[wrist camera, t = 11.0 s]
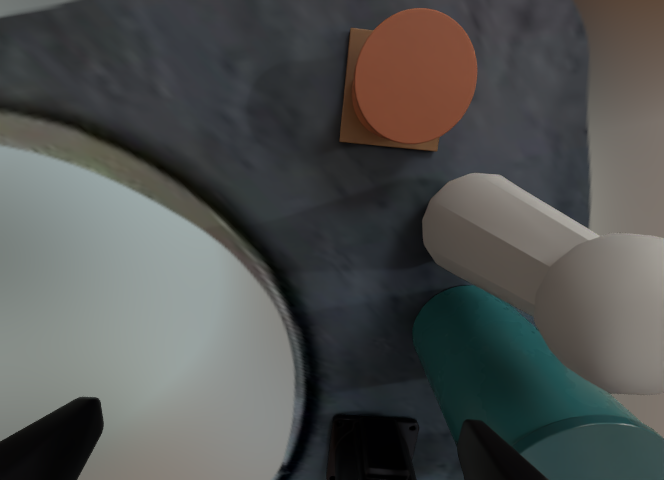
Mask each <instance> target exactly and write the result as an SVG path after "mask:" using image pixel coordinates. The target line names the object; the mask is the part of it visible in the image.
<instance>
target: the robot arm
mask: <svg viewBox="0 0 664 480" xmlns="http://www.w3.org/2000/svg"><path fill="white" fill-rule="evenodd" d="M103 426H104V422H103V416H102V409H101V402H100V400H99V399H98V398H96V397H79V398H77V399H75V400H73V401H71V402H70V403H68V404H66V405H64V406H62V407H61V408H59V409H57V410H55V411H54V412H52V413H50V414H48V415H46V416H45V417H43V418H41V419H39V420H38V421H36V422H34V423H32V424H30V425H29V426H27V427H25V428H23V429H22V430H20V431H18V432H16V433H15V434H13V435H11V436H9V437H8V438H6V439H4V440H2V441H0V480H77V479H78V477H79V475H80V473H81V471H82V469H83V467H84V466H85V464H86V462H87V460H88V458H89V456H90V455H91V453H92V451H93V449H94V447H95V445H96V443H97V441H98V440H99V437H100V436H101V434H102V430H103ZM418 431H419V425H418V422H417V420H415V419H409V418H392V417H374V416H357V415H336V416H335V417H334V418H333V422H332V431H331V439H330V447H329V455H328V463H327V472H326V479H327V480H417V479H416V475H415V472H414V468H413V464H412V458H413V453H414V449H415V445H416V440H417V436H418ZM457 451H458V456H459V460H460V464H461V468H462V471H463V475H464V479H465V480H549V479H547V478H546V477H545V476H544V475H543V474H542V473H541V472H540V471H538V470H537V469H536V468H535V467H534V466H533V465H532V464H531V463H529V462H528V461H527V460H526V459H525V458H524V457H523V456H522V455H520V454H519V453H518V452H517V451H516V450H515V449H514V448H513V447H511V446H510V445H509V444H508V443H507V442H506V441H505V440H504V439H502V438H501V437H500V436H499V435H498V434H497V433H496V432H494V431H493V430H492V429H491V428H490V427H489V426H488V425H487V424H485V423H484V422H483V421H481V420H475V419H466V420H464V422H463V424H462V428H461V431H460V435H459V439H458V443H457Z"/></svg>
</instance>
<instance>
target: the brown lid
mask: <svg viewBox="0 0 664 480" xmlns="http://www.w3.org/2000/svg"><path fill="white" fill-rule="evenodd" d="M476 81H477V60H476V56H475V51H474V48H473V45H472V43H471V41H470V39H469V37H468V35H467V34H466V32H465V31H464V29H463V28H462V27H461V26H460V25H459V24H458V23H457V22H456V21H455V20H453V19H452V18H451V17H449V16H447V15H446V14H444V13H441V12H439V11H436V10H432V9H426V8H416V9H409V10H405V11H401V12H399V13H397V14H394V15H392V16H391V17H389V18H387V19H386V20H385V21H383V22H382V23H381V24H380V25H378V26H377V27H376V29H375V30H374V31H373V32H372V33H371V34H370V36H369V37H368V38H367V40H366V42H365V43H364V45H363V47H362V49H361V52H360V54H359V56H358V59H357V63H356V66H355V73H354V80H353V85H352V102H353V107H354V110H355V113H356V115H357V117H358V119H359V120H360V122H361V123H362V124H363V125H364V127H365V128H366V129H368V130H369V131H370V132H372V133H373V134H375V135H377V136H379V137H382V138H386V139H388V140H390V141H393V142H396V143H402V144H420V143H425V142H429V141H431V140H434V139H436V138H438V137H440V136H442V135H443V134H445V133H446V132H448V131H449V130H450V129H451V128H452V127H454V126H455V125H456V124H457V122H458V121H459V120H460V119H461V118H462V116H463V115H464V113H465V112H466V110H467V108H468V106H469V105H470V102H471V100H472V97H473V95H474V91H475V87H476Z"/></svg>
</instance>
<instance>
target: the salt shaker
mask: <svg viewBox="0 0 664 480" xmlns="http://www.w3.org/2000/svg"><path fill="white" fill-rule="evenodd" d="M422 229H423V243H424V246H425V247H426V249H427V250H428V252H429V253H430V255H431V256H432V258H433V260H434V261H435V263H436V264H438V265H439V266H441V267H443V268H444V269H446V270H448V271H449V272H451V273H453V274H454V275H456V276H458V277H460V278H462V279H464V280H465V281H467V282H469V283H471V284H473V285H475V286H477V287H479V288H480V289H482V290H484V291H486V292H488V293H490V294H492V295H494V296H495V297H497V298H499V299H501V300H503V301H505V302H507V303H509V304H510V305H512V306H514V307H516V308H518V309H520V310H522V311H524V312H525V313H527V314H529V315H531V316H533V317H534V322H535V324H536V326H537V328H538V330H539V332H540V334H541V335H542V337H543V339H544V341H545V342H546V344H547V346H548V348H549V349H550V351H551V352H552V353H553V354H554V355H555V356H556V357H557V358H558V360H559V361H560V362H561V363H562V364H563V365H564V366H566V367H567V368H569V369H570V370H572V371H573V372H575V373H576V374H578V375H579V376H581V377H582V378H584V379H585V380H587V381H589V382H590V383H592V384H594V385H596V386H597V387H599V388H601V389H603V390H604V391H606V392H608V393H610V394H636V395H653V394H661V393H664V238H660V237H656V236H648V235H637V234H626V233H608V234H605V235H603V236H599V235H598V234H596V233H594V232H592V231H591V230H589V229H588V228H586V227H584V226H583V225H581V224H579V223H578V222H576V221H574V220H573V219H571V218H569V217H568V216H566V215H564V214H563V213H561V212H559V211H558V210H556V209H554V208H553V207H551V206H549V205H548V204H546V203H544V202H543V201H541V200H539V199H538V198H536V197H534V196H533V195H531V194H529V193H528V192H526V191H524V190H523V189H521V188H519V187H518V186H516V185H515V184H513V183H512V182H510V181H509V180H507V179H505V178H504V177H502V176H501V175H494V174H482V173H471V174H468V175H465V176H463V177H460V178H457V179H455V180H452V181H449V182H448V183H447V184H446V185H445V186H444V187H443V188H442V189H441V190H439V191H438V192H437V193H436V194H435V195H434V196H433V197H432V198H431V199H430V202H429V204H428V207H427V209H426V212H425V214H424V217H423V219H422Z"/></svg>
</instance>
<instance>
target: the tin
mask: <svg viewBox="0 0 664 480" xmlns="http://www.w3.org/2000/svg"><path fill="white" fill-rule="evenodd" d="M412 339H413V345H414V348H415V350H416V353H417V355H418V357H419V360H420V362H421V364H422V367H423V369H424V371H425V374H426V376H427V378H428V381H429V383H430V385H431V388H432V390H433V392H434V395H435V397H436V399H437V402H438V404H439V406H440V409H441V411H442V413H443V416H444V418H445V420H446V423H447V425H448V427H449V430H450V432H451V434H452V437H453V439H454V441H455V444H456V446H457V443H458V439H459V435H460V431H461V428H462V424H463V422H464V420H466V419H475V420H481V421H483V422H484V423H485V424H487V425H488V426H489V427H490V428H491V429H492V430H493V431H494V432H496V433H497V434H498V435H499V436H500V437H501V438H502V439H504V440H505V441H506V442H507V443H508V444H509V445H510V446H511V447H513V448H514V449H515V450H516V451H517V452H518V453H519V454H520V455H522V456H523V457H524V458H525V459H526V460H527V461H528V462H529V463H531V464H532V465H533V466H534V467H535V468H536V469H537V470H538V471H540V472H541V473H542V474H543V475H544V476H545V477H546V478H547V479H549V480H664V438H663V437H662V436H660V435H659V434H658V433H657V432H655V431H654V430H653V429H652V428H650V427H648V426H647V425H645V424H643V423H642V422H641V421H639V420H638V419H637V418H636V417H635V416H634V415H632V414H631V413H630V412H629V411H628V410H627V409H626V408H625V407H624V406H623V405H622V404H620V403H619V402H618V401H617V400H616V399H615V398H614V397H613V396H612V395H610V394H609V393H608V392H606V391H604V390H603V389H601V388H599V387H597V386H596V385H594V384H592V383H590V382H589V381H587V380H585V379H584V378H582V377H581V376H579V375H578V374H576V373H575V372H573V371H572V370H570V369H569V368H567V367H566V366H564V365H563V364H562V363H561V362H560V361H559V360H558V358H557V357H556V356H555V355H554V354H553V353H552V352H551V351H550V349H549V348H548V346H547V344H546V342H545V341H544V339H543V337H542V335H541V334H540V332H539V330H538V329H537V328H536V327H535V326H533V325H532V324H531V323H530V322H529V321H528V320H527V319H526V318H525V317H523V316H522V315H521V314H520V313H519V312H518V311H517V310H516V309H514V308H513V307H512V306H511V305H510V304H509V303H507V302H505V301H503V300H501V299H499V298H497V297H495V296H494V295H492V294H490V293H488V292H486V291H484V290H482V289H480V288H479V287H477V286H474V285H465V286H458V287H453V288H450V289H447V290H445V291H443V292H441V293H439V294H437V295H436V296H434V297H433V298H432V299H430V300H429V301H428V302H427V303H426V304H425V305H424V306H423V308H422V309H421V310H420V312H419V314H418V315H417V317H416V320H415V322H414V326H413V332H412Z"/></svg>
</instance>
